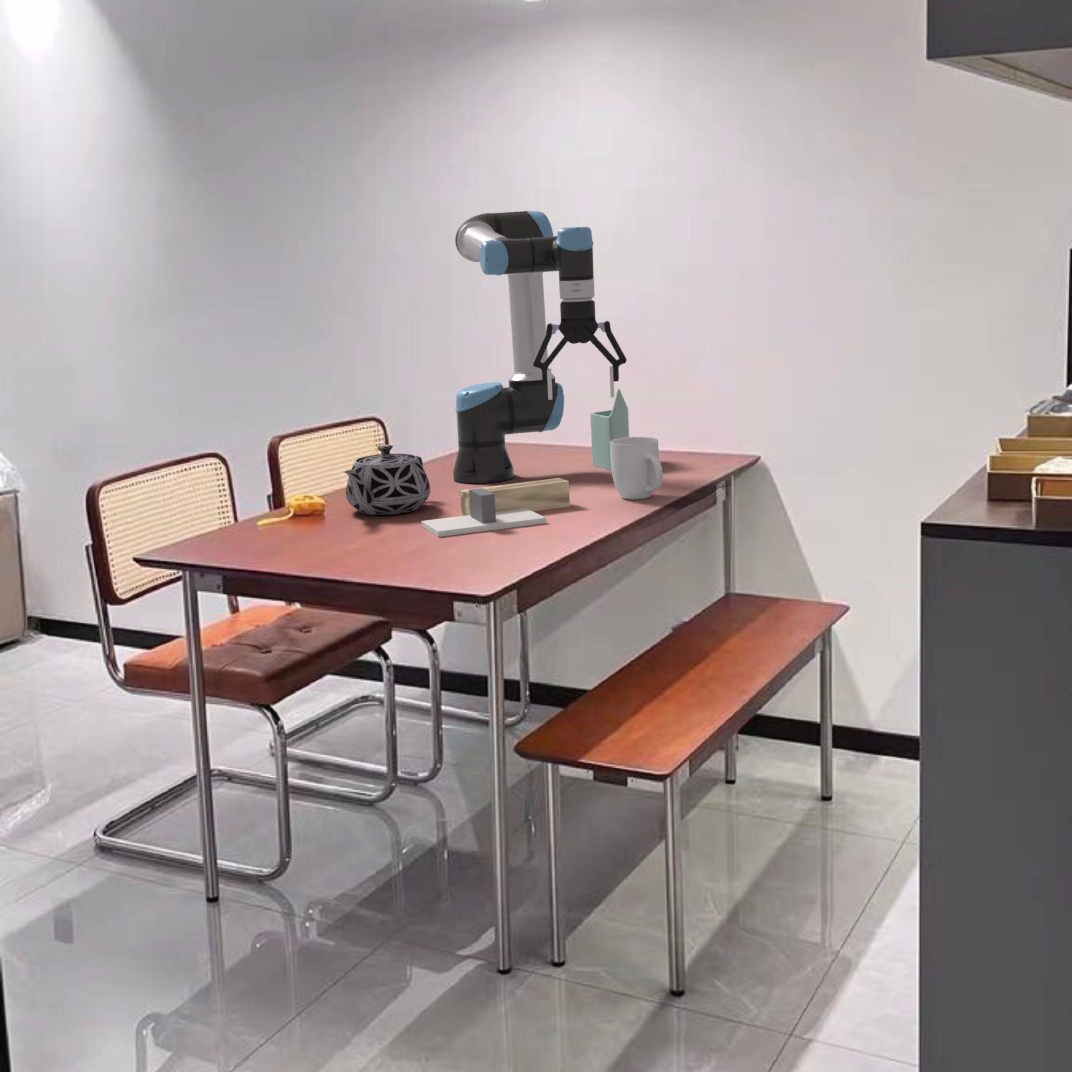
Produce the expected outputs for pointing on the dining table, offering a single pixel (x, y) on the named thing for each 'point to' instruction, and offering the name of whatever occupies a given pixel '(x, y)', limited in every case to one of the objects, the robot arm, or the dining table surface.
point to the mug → (635, 466)
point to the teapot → (387, 483)
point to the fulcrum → (482, 517)
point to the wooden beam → (525, 496)
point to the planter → (608, 430)
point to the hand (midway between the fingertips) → (581, 398)
